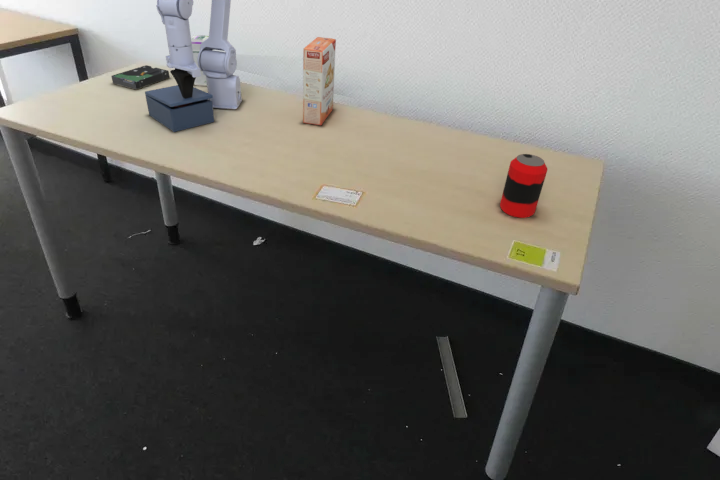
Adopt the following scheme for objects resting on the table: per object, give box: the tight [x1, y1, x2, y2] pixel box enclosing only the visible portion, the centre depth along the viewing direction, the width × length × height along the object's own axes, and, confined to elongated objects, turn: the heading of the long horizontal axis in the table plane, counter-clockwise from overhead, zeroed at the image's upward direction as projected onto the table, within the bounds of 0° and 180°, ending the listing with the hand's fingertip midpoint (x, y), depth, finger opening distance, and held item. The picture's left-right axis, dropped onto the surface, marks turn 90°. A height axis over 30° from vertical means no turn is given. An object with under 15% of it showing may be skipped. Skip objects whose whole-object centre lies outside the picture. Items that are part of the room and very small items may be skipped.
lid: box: [144, 84, 213, 107], centre depth 139 cm, size 15×12×1 cm
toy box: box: [144, 94, 215, 133], centre depth 141 cm, size 15×12×6 cm
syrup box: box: [191, 34, 209, 87], centre depth 164 cm, size 6×6×14 cm
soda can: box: [499, 153, 548, 219], centre depth 109 cm, size 8×8×12 cm
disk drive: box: [111, 64, 170, 90], centre depth 166 cm, size 10×3×15 cm
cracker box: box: [302, 36, 337, 126], centre depth 144 cm, size 14×6×21 cm, turn 168°
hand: (187, 97), depth 136 cm, fingers closed
